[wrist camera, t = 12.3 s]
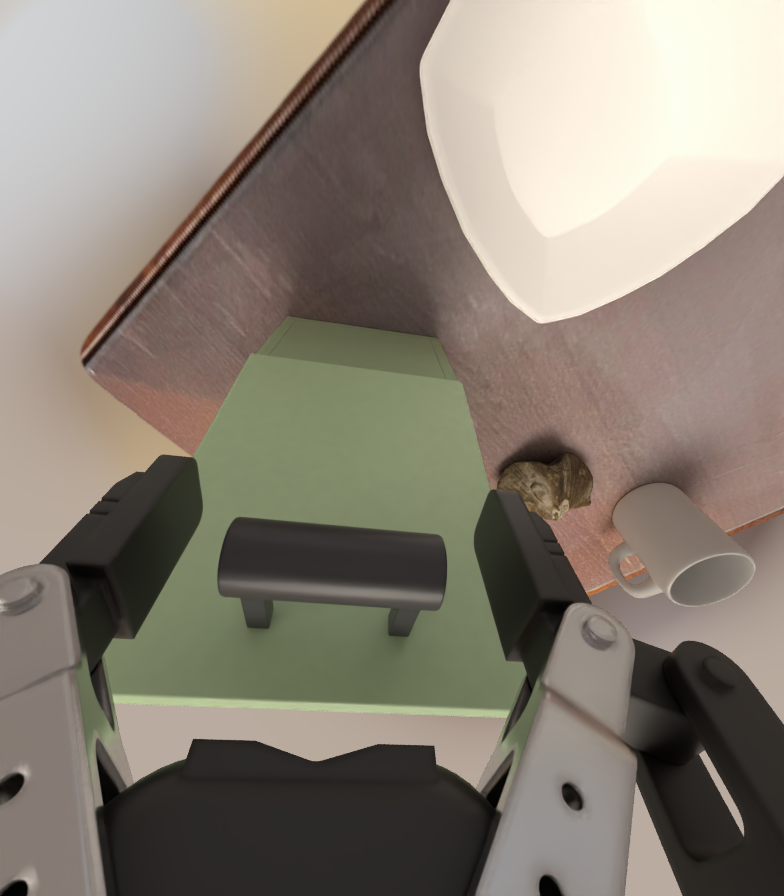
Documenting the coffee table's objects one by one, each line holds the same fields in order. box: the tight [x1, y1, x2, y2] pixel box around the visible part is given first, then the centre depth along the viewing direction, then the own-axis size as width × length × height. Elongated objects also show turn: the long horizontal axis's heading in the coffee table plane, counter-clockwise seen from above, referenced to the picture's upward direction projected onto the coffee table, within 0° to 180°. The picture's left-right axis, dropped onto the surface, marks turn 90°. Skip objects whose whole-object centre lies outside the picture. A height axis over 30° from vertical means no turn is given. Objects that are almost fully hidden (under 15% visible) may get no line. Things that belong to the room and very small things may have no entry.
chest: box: [256, 316, 458, 381], centre depth 35 cm, size 18×14×11 cm
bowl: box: [420, 0, 784, 323], centre depth 25 cm, size 22×22×5 cm
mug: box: [608, 483, 756, 607], centre depth 44 cm, size 12×8×11 cm
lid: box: [103, 353, 526, 718], centre depth 16 cm, size 19×14×5 cm
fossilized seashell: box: [497, 453, 593, 520], centre depth 42 cm, size 8×7×10 cm
